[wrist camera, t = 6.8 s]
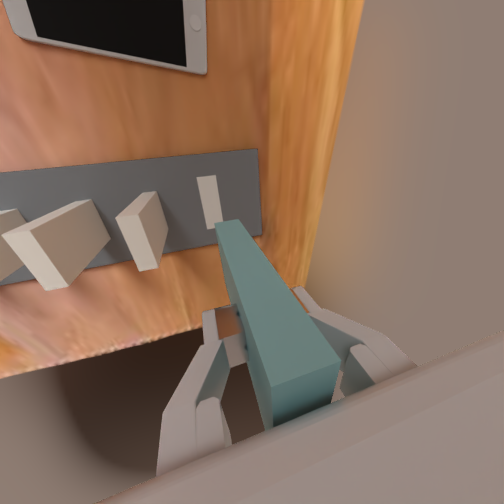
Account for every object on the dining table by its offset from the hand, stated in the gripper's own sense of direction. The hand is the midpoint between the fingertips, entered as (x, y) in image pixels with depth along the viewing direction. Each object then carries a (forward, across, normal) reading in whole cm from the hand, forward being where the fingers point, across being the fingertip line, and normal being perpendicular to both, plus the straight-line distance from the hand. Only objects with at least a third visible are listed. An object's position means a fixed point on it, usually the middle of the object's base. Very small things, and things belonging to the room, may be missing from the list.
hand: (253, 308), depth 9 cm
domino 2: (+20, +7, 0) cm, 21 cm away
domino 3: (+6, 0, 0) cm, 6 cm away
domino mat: (+21, +14, 0) cm, 25 cm away
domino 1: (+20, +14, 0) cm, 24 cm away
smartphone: (+21, +5, -18) cm, 28 cm away
